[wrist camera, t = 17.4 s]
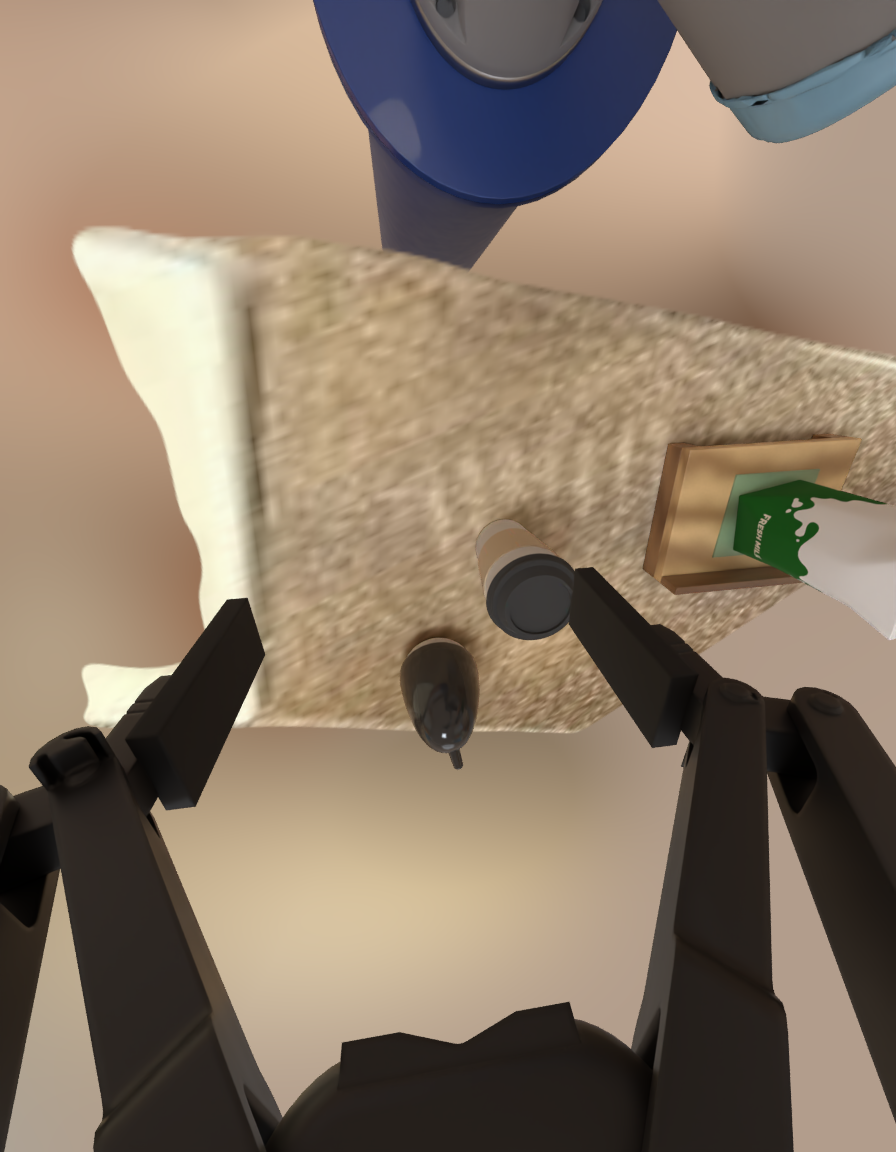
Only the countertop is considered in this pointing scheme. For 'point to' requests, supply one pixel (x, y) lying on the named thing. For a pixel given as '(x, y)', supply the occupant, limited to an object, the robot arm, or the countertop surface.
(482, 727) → the countertop surface
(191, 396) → the countertop surface
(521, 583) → the coffee cup
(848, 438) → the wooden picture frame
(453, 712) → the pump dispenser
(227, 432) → the countertop surface
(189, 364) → the countertop surface
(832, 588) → the soya milk
